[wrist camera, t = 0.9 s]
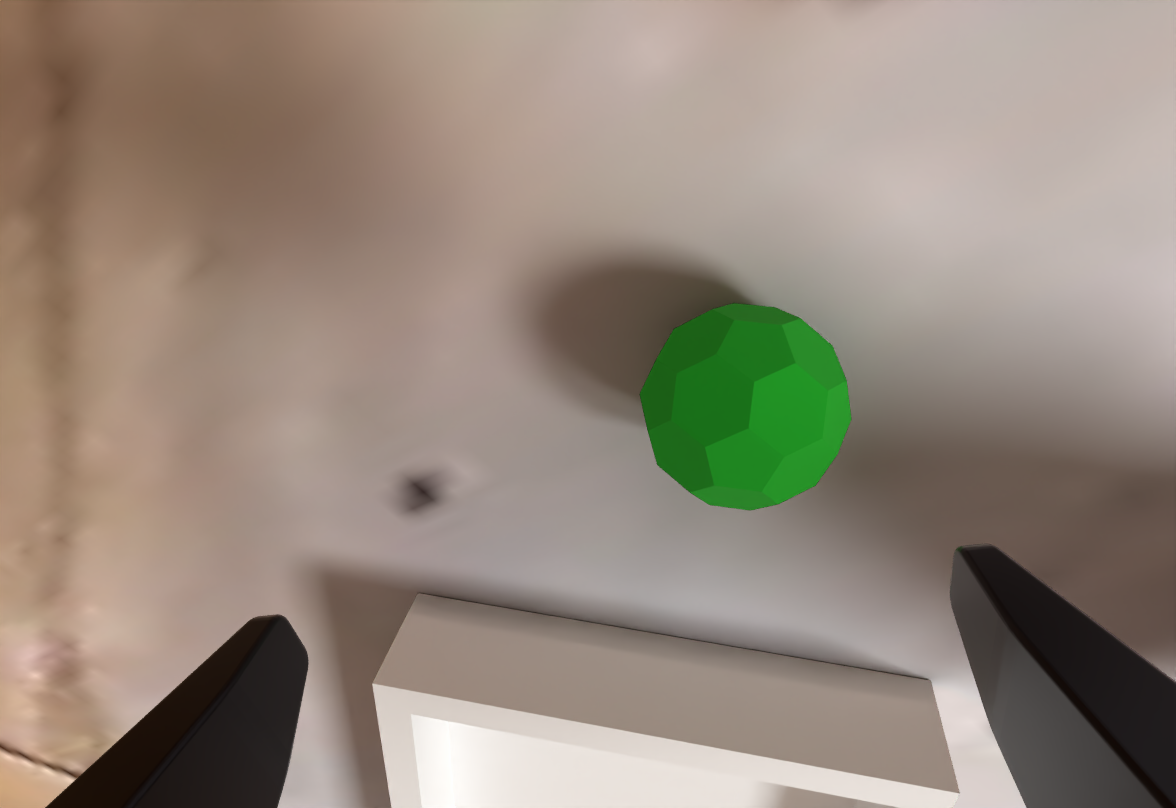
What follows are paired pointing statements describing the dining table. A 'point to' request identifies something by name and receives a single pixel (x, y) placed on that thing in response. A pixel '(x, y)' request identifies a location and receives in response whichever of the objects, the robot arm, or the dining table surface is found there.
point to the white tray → (641, 720)
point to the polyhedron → (746, 406)
